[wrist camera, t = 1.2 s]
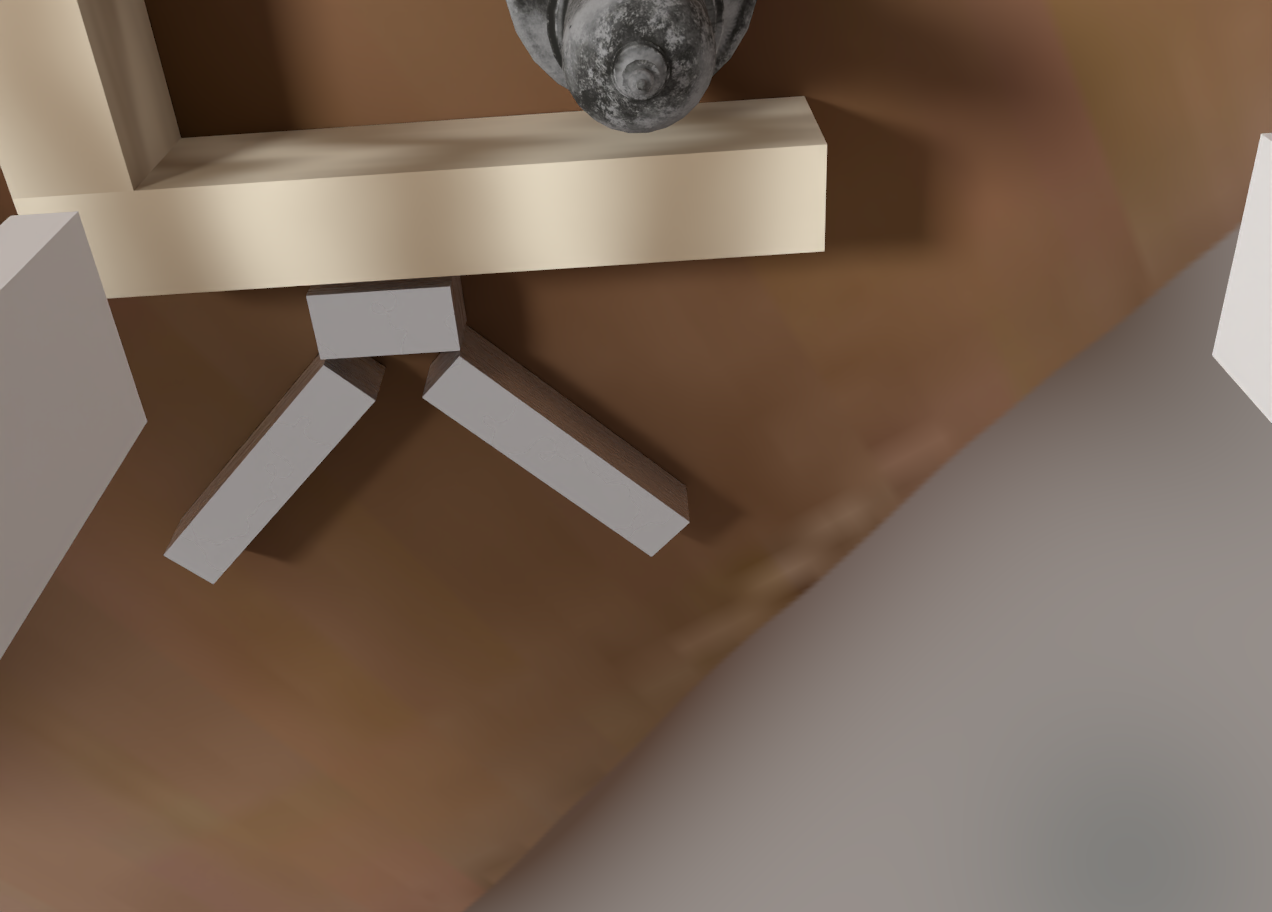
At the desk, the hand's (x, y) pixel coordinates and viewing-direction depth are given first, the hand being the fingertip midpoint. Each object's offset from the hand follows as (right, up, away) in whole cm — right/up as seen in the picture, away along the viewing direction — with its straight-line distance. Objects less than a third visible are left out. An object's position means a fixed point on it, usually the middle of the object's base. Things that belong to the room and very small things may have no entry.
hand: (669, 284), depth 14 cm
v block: (-7, 0, +24) cm, 25 cm away
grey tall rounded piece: (-1, +11, +17) cm, 20 cm away
